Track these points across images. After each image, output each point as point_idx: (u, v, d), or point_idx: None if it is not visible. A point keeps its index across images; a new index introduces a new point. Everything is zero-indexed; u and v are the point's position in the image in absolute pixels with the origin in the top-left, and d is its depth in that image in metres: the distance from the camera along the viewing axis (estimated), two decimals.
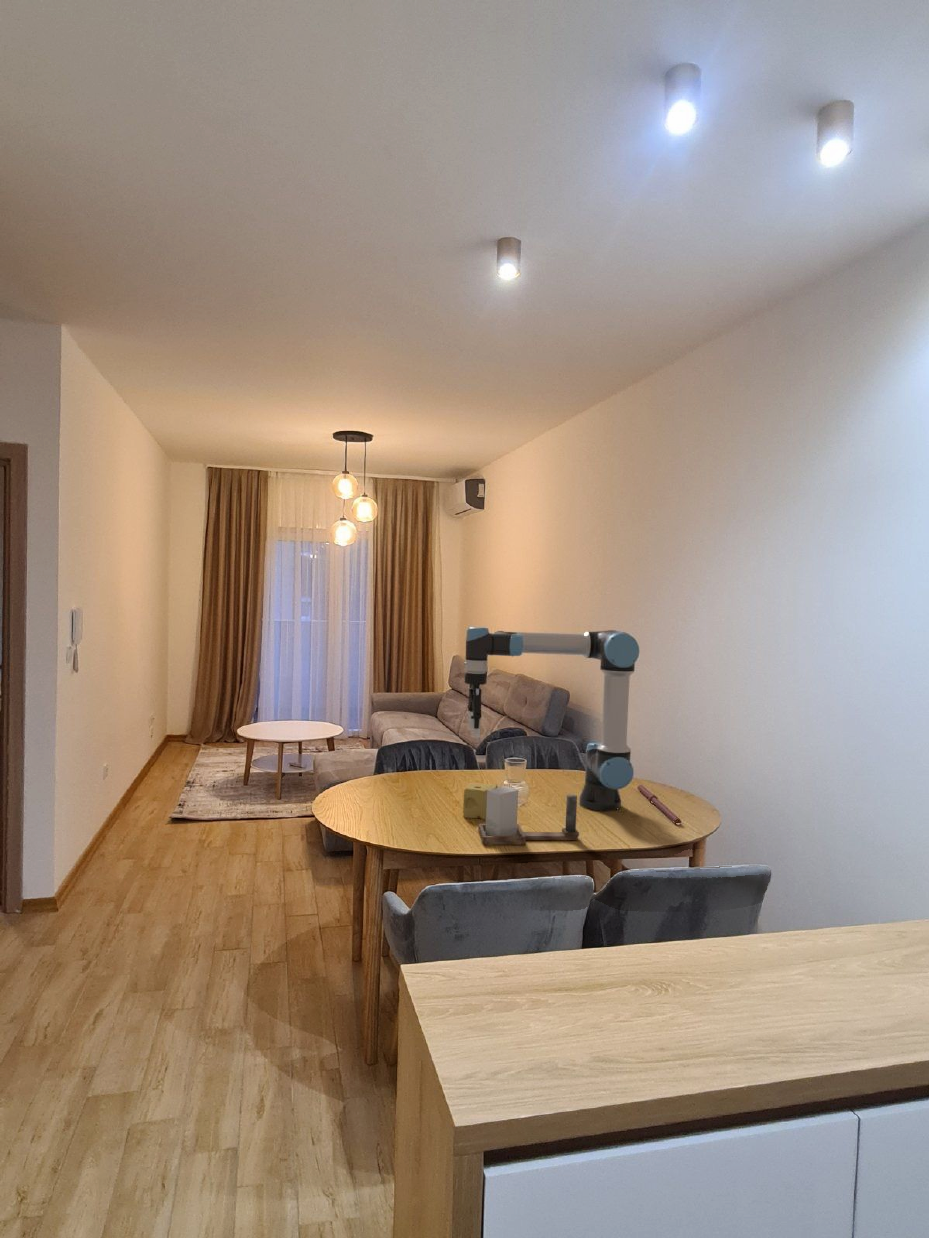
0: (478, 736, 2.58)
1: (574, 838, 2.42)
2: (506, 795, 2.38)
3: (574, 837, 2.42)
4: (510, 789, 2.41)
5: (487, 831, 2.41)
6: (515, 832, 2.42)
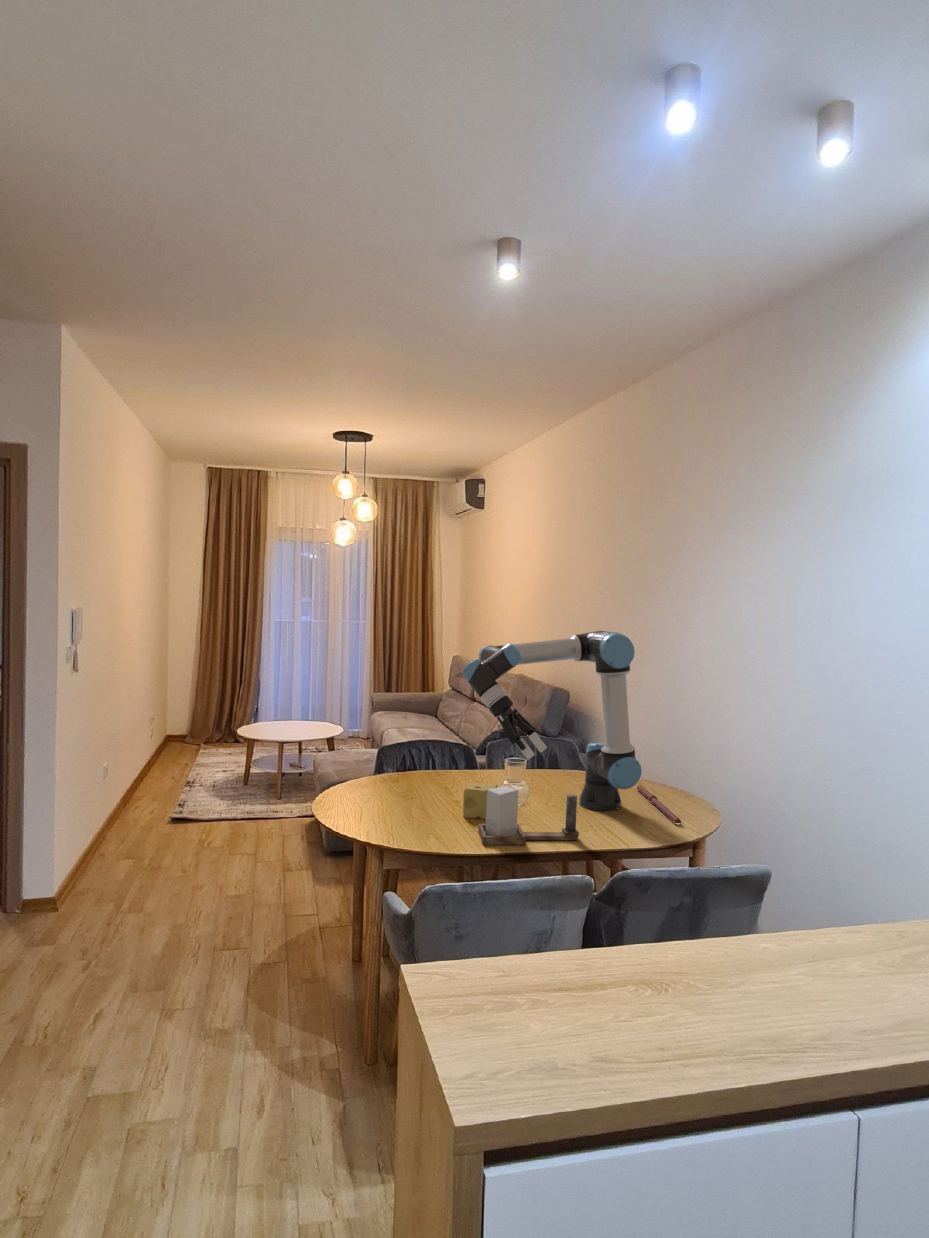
0: (532, 754, 2.41)
1: (574, 838, 2.42)
2: (506, 795, 2.38)
3: (574, 837, 2.42)
4: (510, 789, 2.41)
5: (487, 831, 2.41)
6: (515, 832, 2.42)
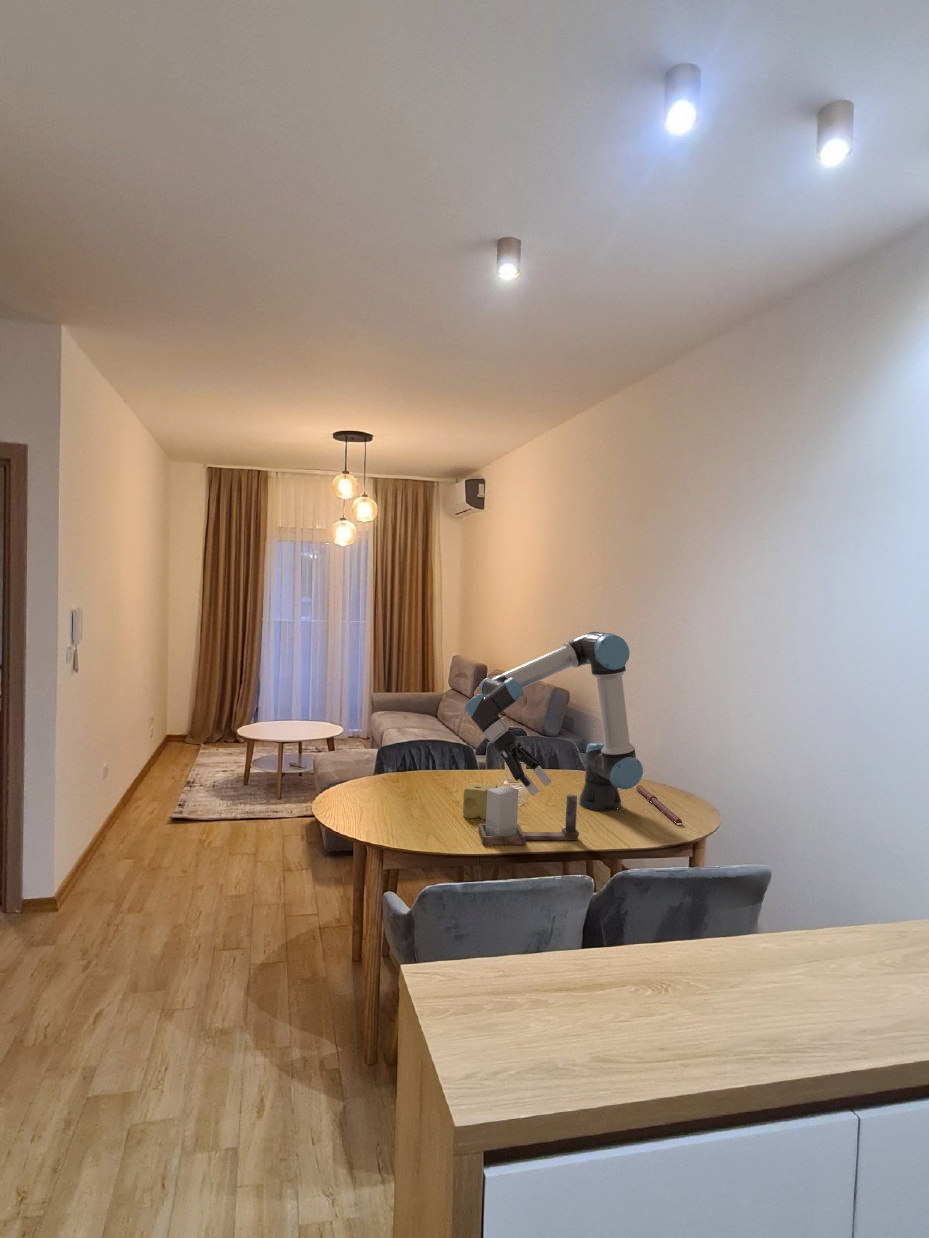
0: (536, 790, 2.40)
1: (574, 838, 2.42)
2: (506, 795, 2.38)
3: (574, 837, 2.42)
4: (510, 789, 2.41)
5: (487, 831, 2.41)
6: (515, 832, 2.42)
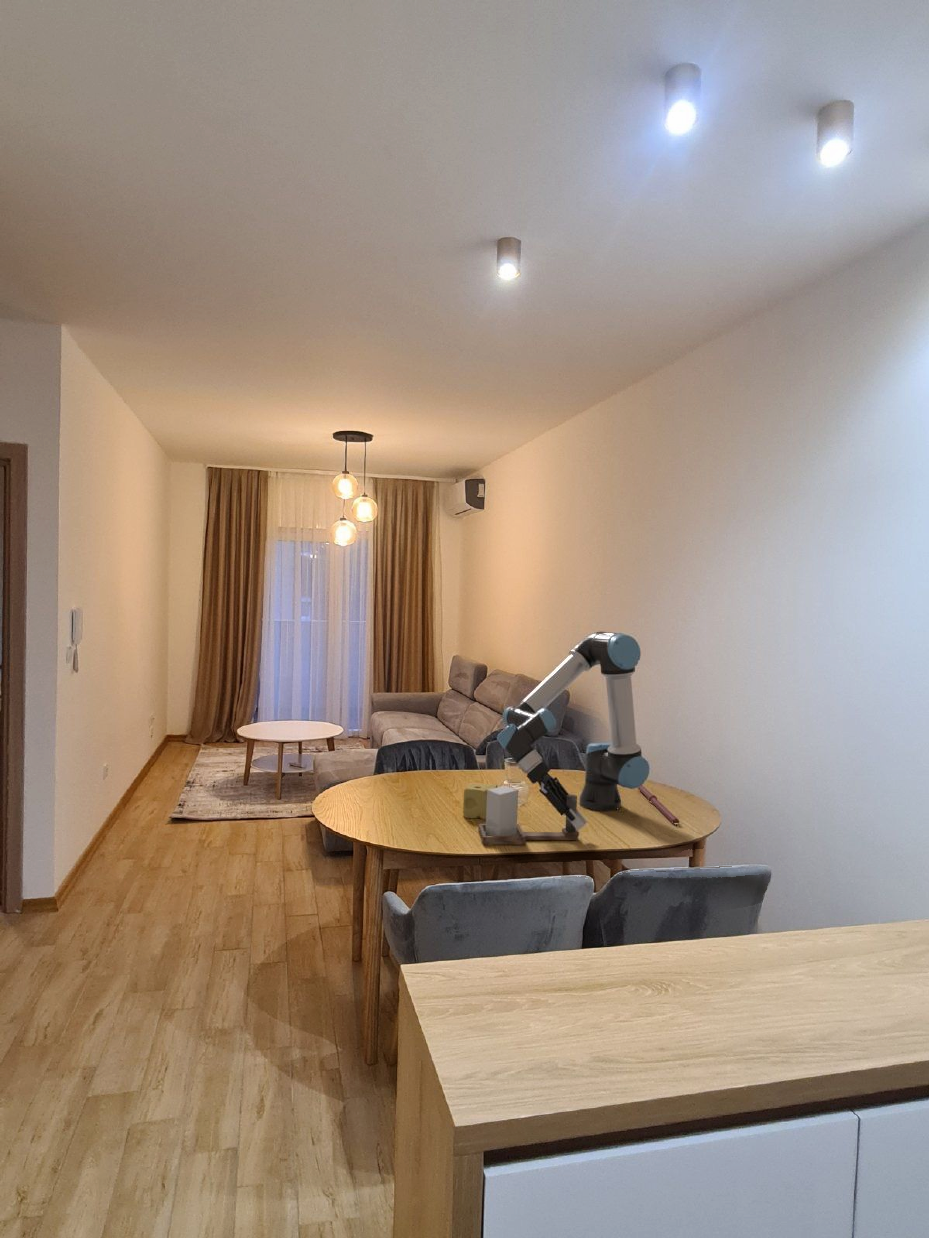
0: (581, 825, 2.40)
1: (574, 838, 2.42)
2: (506, 795, 2.38)
3: (574, 837, 2.42)
4: (510, 789, 2.41)
5: (487, 831, 2.41)
6: (515, 832, 2.42)
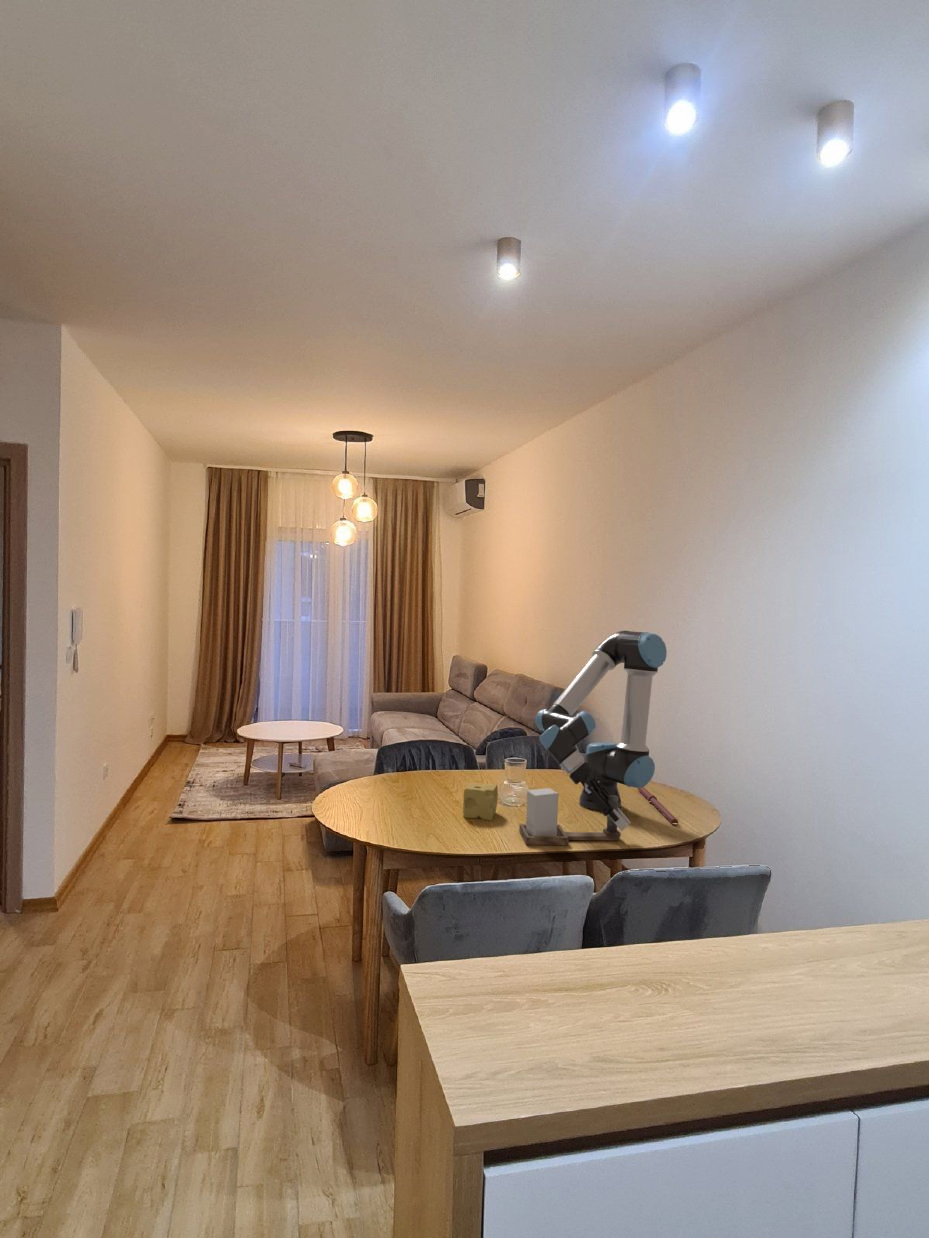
0: (625, 825, 2.41)
1: (616, 839, 2.43)
2: (543, 797, 2.37)
3: (615, 837, 2.43)
4: (550, 792, 2.40)
5: (527, 831, 2.42)
6: (555, 835, 2.40)
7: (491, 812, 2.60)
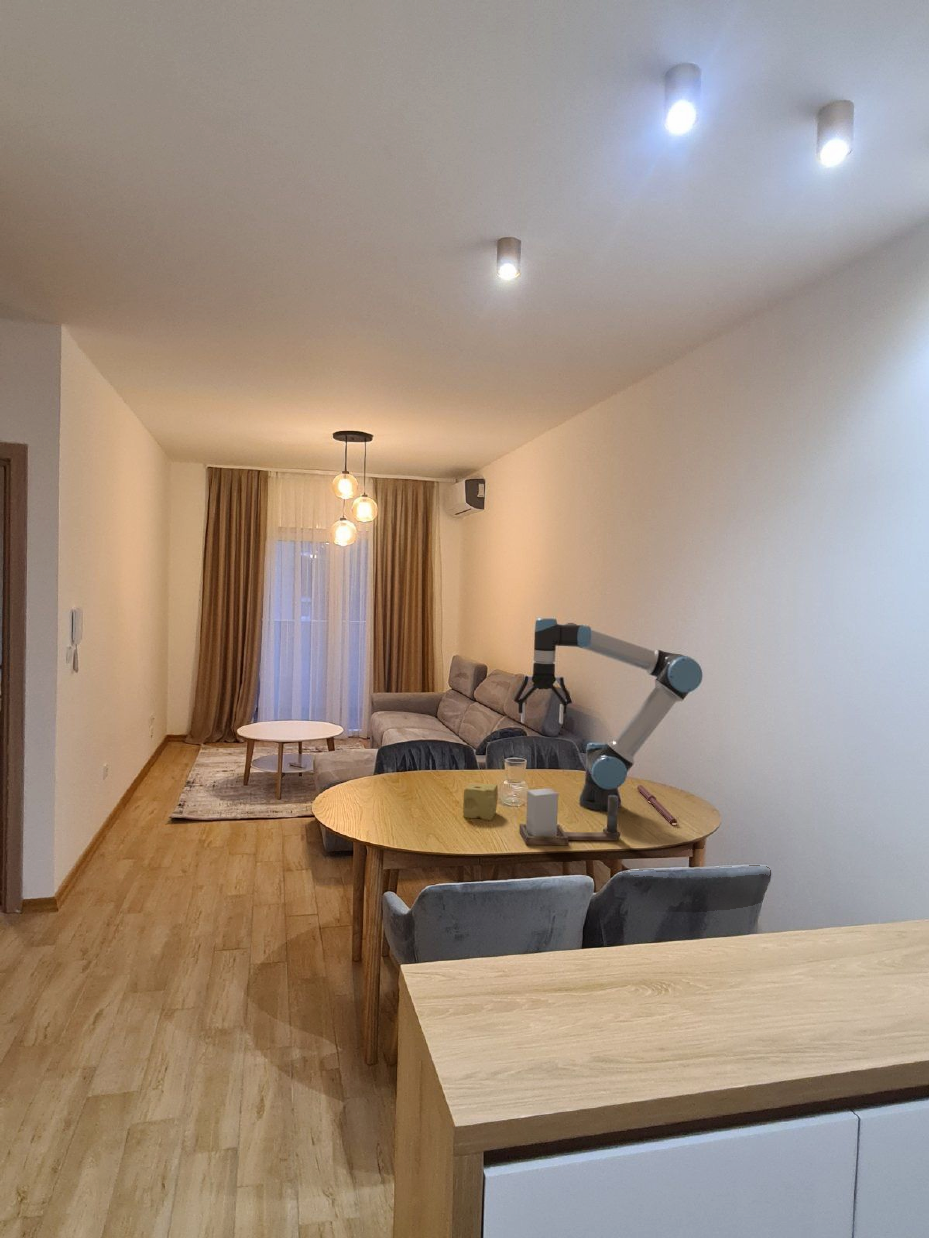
0: (521, 721, 2.68)
1: (616, 839, 2.43)
2: (543, 797, 2.37)
3: (615, 837, 2.43)
4: (550, 792, 2.40)
5: None
6: (555, 835, 2.40)
7: (491, 812, 2.60)
